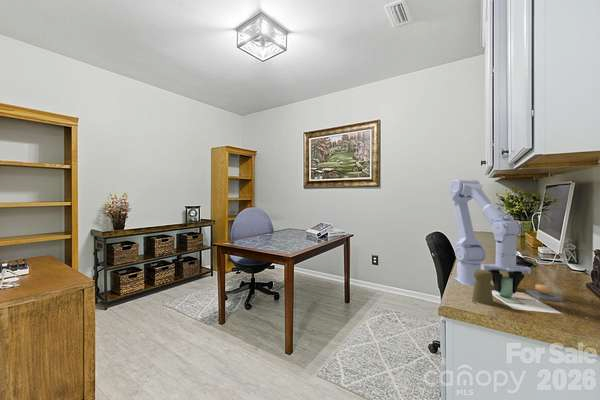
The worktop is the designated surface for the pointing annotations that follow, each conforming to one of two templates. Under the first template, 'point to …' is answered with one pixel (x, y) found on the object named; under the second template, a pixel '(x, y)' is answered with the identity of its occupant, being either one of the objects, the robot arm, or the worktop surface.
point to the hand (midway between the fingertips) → (505, 291)
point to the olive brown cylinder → (482, 287)
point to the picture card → (524, 302)
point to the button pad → (544, 296)
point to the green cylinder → (506, 287)
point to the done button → (543, 288)
